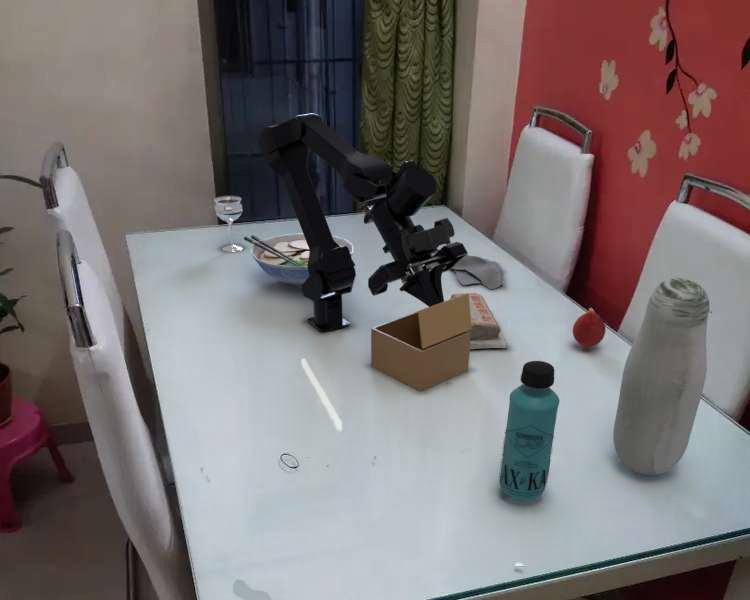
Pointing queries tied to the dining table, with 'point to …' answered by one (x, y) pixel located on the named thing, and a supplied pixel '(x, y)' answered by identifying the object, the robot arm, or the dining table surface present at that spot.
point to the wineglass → (229, 215)
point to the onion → (589, 329)
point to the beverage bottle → (529, 433)
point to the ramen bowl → (286, 256)
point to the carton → (417, 353)
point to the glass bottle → (663, 379)
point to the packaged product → (483, 325)
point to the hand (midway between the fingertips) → (442, 312)
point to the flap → (444, 320)
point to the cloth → (478, 271)
